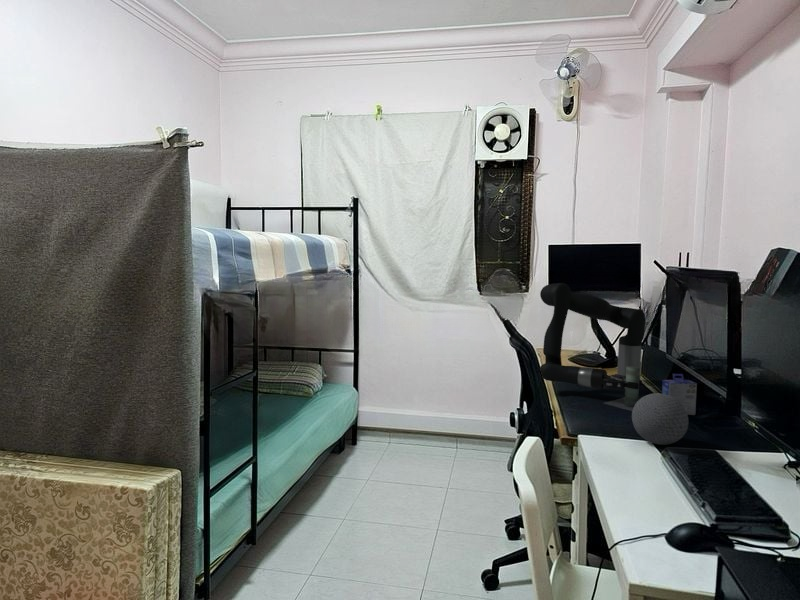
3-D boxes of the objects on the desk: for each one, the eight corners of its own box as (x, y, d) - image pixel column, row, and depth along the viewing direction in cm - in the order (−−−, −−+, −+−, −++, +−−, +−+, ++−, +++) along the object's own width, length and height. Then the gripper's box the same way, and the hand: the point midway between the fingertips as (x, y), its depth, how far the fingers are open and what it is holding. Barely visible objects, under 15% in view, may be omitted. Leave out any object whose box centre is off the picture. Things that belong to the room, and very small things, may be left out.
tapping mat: (624, 399, 195) (624, 397, 195) (659, 409, 183) (659, 406, 183) (602, 405, 187) (602, 402, 187) (638, 415, 176) (638, 412, 175)
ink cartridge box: (687, 412, 180) (690, 373, 178) (696, 417, 174) (698, 376, 173) (659, 412, 180) (662, 372, 179) (667, 417, 174) (670, 376, 173)
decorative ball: (671, 457, 139) (674, 404, 138) (620, 440, 151) (623, 392, 150) (696, 445, 148) (699, 396, 147) (646, 431, 160) (649, 385, 159)
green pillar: (628, 402, 188) (630, 365, 187) (640, 405, 185) (642, 368, 183) (621, 404, 186) (623, 367, 185) (633, 407, 182) (635, 369, 181)
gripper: (587, 371, 187) (636, 378, 177) (597, 365, 198) (644, 371, 188) (586, 391, 187) (635, 399, 177) (596, 383, 199) (643, 390, 189)
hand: (639, 384), depth 183 cm, fingers open, 5 cm apart
